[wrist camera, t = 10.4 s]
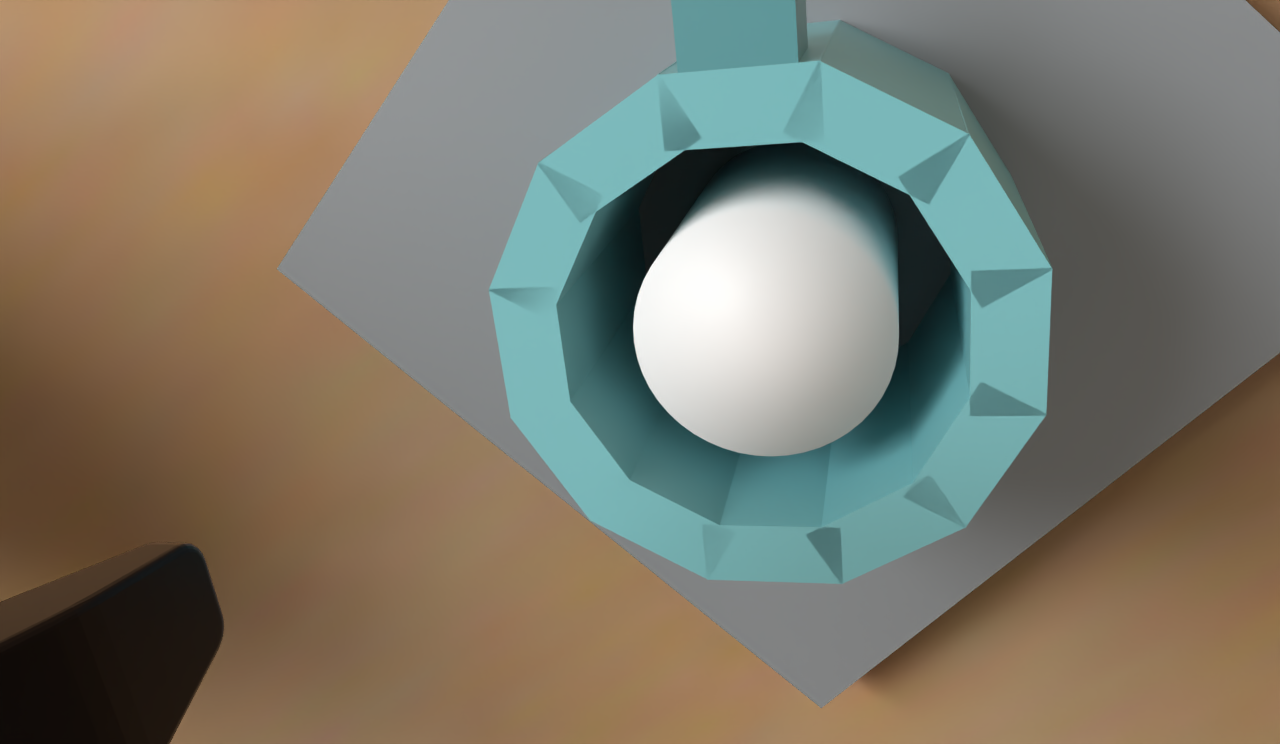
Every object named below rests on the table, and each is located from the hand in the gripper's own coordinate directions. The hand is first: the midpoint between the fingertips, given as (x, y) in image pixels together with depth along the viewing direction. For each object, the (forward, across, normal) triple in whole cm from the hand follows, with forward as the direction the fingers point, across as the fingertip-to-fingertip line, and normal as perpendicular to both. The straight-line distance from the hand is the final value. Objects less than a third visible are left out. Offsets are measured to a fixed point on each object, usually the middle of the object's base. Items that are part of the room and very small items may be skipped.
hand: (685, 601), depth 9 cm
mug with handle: (+10, 0, 0) cm, 10 cm away
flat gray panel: (+12, 0, 0) cm, 12 cm away
